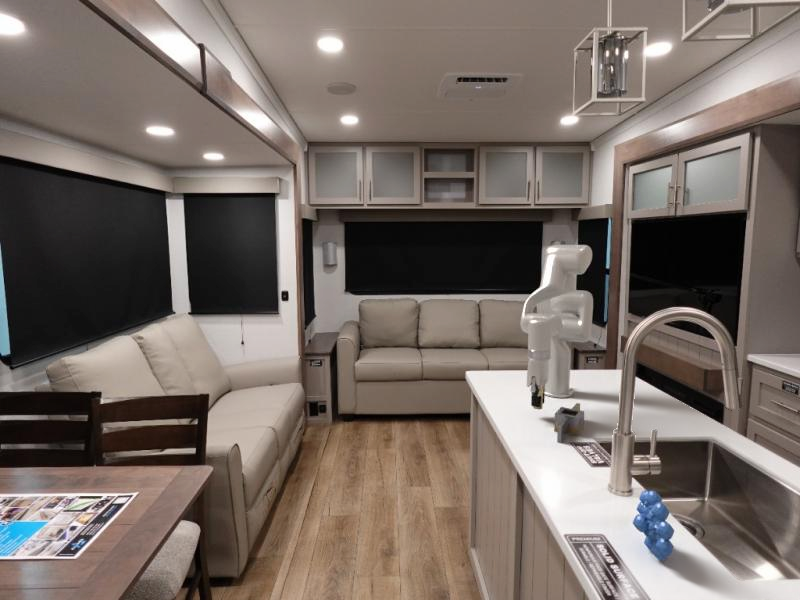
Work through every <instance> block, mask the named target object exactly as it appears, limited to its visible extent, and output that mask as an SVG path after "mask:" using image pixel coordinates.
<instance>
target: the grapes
mask: <svg viewBox="0 0 800 600" xmlns="http://www.w3.org/2000/svg"><path fill="white" fill-rule="evenodd" d="M638 499H639V501H640V502H639V503H638V505H637V507H636V511H637V512H638V514H636V515H635V517H634V518H633V521H632V524H633V526H634V527H635V528H636V530H638V531H639V532H640V533H643V534H644V536H645V538H644V541H643V544H644V545H645V546H646V548H647V549H648V550H649V551H650V552H651V553H652V555H653V556H654V557H655V558H656V559H657V560H659V561H661V562H663V561H665V560H666V559H667V557H669V556H671V555H672V554H673V551H674V547H675V546H674V544H673V543H672V542H671V541H670V540H671V539H672V538H673V536H674V533H675V529H674V528H673V526H672V525H671V524H670V523H669V522H667V521H666V520H667V519H668V517H669V515H670V512H671V511H670V510H669V509H668V507H667V506H666V505H665V504H664V503H663V499H662V497H661V496H660V494H659V493H658V492H656V491H655V490H651V489H650V490H648V489H644V490H643V491H641V493H640V495H639V498H638Z"/></svg>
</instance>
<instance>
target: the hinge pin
mask: <svg viewBox="0 0 800 600" xmlns="http://www.w3.org/2000/svg"><path fill="white" fill-rule="evenodd" d="M536 387H538V386H536ZM536 390H537V391H538V389H536ZM540 396H541V407H534V406H532V408H533V409H534V410H542V409H543V387H542V388H541V390H540Z"/></svg>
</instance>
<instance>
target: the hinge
mask: <svg viewBox="0 0 800 600" xmlns="http://www.w3.org/2000/svg"><path fill="white" fill-rule="evenodd" d="M553 425H554V427H553V428H554V430H553V431H554V432H555V431H556V433H557V435H556V436H557V437H556V438H557V439H556V442H557V443H559V444H562V443H563V441H564V440H565V439H566V437H567V436H568V435H570V436H573V437H579V436H580V435H581V433H582V432H583V430H585V429H584V428H585V411H584V410H581V403H579V402H576V403H575V404H574V405H573V407H572V408H569V407H564V406H560V407H559V409H558V410H557V411H555V413H554V424H553Z"/></svg>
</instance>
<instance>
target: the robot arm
mask: <svg viewBox="0 0 800 600" xmlns="http://www.w3.org/2000/svg"><path fill="white" fill-rule="evenodd" d="M592 260H593V250H592V248H591V247H590V246H589V245H587V244H554V245H550V246H548V247H547V248H546V250H545V260H544V266H543V269H542V274H541V280H540V285H539V286H538V288H536V290H534V291H533V292H532V293H531V294H530V295H529V296H528V298H527V299H526V300H525V302H524V304H523V307H522V312H521V316H520V323H519V324H520V328H521V331H522V332H524V333H525V334H527V336H528V338H527V359H529V360H528V364H527V370H526V371H527V372H526V387H528V388H529V387H530V393H531V394H530V395H531V397H530V398H531V400H530V401H531V402H530V403H531V407H533V406H534V407H541V396H540V390H541V388H542V387H543V404H545V398H546V397H545V396H547V397H552V398H555V399H556V398H560V399H566V398H570V397H572V396H573V395H574V391H573V390H572V389H570V381H571V380H570V379H571V378H570V377H571V358H572V357H571V355H572V353H571V348H570V347H569V345H568V344H567V342H575V343H586V342H588V341H589V340H590V339H591V336H592V325H593V311H594V298H593V294H592V293H591V292H589V291H588V290H582V289H581V290H579V289H575V281H576V279H575V278H576V277H575V276H574V275H583V274H585V272H586V271H587V269H588V268H589V266H590V265H591V263H592ZM549 300H550V309H551V310H552V311H553V312H554V313H559V314H560V313H561V314H570V315H571V314H572V315H578V316H579V317H573V316H561V315H558V314H550V313H540V312H539V313H538V312H533V310H534V309H535V308H536V306H538V305H539V304H542V303H543V302H545V301H549ZM536 386H538V387H536ZM536 389H538V391H537V390H536Z"/></svg>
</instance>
